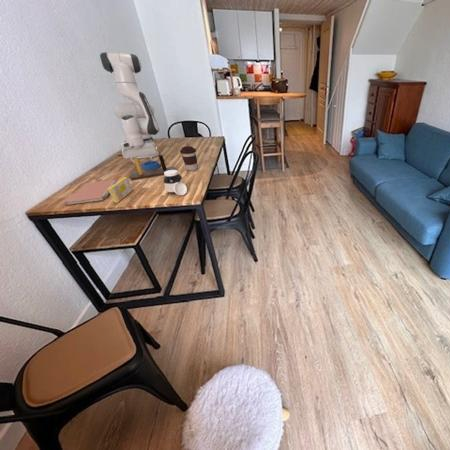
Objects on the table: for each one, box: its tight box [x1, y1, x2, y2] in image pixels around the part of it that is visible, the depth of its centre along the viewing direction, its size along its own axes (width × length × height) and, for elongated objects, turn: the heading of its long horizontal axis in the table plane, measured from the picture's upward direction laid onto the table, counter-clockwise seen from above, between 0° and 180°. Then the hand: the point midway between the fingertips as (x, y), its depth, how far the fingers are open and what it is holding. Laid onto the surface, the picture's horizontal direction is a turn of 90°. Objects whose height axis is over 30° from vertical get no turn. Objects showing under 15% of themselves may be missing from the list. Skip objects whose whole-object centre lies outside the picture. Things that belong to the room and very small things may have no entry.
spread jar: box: [163, 169, 188, 196], centre depth 136 cm, size 12×11×12 cm
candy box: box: [108, 176, 134, 204], centre depth 133 cm, size 16×2×8 cm, turn 5°
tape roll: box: [141, 160, 161, 171], centre depth 176 cm, size 11×11×3 cm
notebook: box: [65, 179, 118, 206], centre depth 139 cm, size 27×17×2 cm, turn 19°
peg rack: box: [130, 154, 176, 181], centre depth 162 cm, size 26×10×12 cm, turn 122°
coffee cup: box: [179, 145, 199, 172], centre depth 169 cm, size 10×10×15 cm
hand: (143, 162), depth 172 cm, fingers open, 8 cm apart
